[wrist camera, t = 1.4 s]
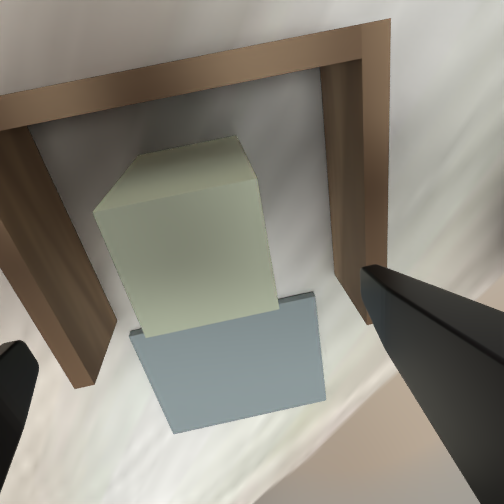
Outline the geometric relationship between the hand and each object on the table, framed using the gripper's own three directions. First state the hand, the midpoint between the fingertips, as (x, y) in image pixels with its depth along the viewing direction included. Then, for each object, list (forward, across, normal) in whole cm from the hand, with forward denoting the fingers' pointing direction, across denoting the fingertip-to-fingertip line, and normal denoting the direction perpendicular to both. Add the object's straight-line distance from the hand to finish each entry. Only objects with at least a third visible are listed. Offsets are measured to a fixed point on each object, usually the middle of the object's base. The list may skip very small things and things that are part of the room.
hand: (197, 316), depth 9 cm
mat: (+11, +1, +13) cm, 17 cm away
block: (+11, 0, 0) cm, 11 cm away
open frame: (+11, 0, 0) cm, 11 cm away
